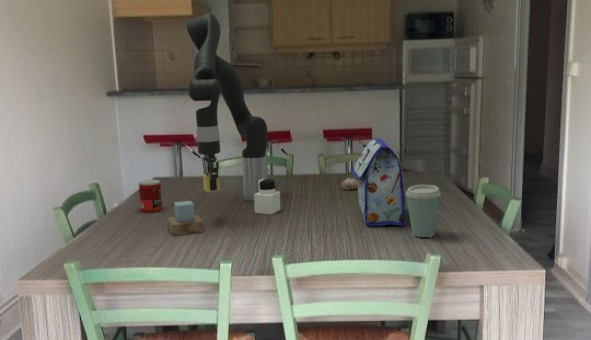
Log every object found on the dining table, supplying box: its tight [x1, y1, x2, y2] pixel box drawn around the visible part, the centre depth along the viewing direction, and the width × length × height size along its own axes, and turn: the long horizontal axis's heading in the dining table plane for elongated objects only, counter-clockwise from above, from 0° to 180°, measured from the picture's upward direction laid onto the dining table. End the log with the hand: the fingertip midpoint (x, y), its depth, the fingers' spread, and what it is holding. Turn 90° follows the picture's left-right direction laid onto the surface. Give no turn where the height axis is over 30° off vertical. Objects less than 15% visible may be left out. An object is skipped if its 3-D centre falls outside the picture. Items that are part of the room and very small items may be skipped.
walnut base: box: [166, 214, 205, 237], centre depth 185 cm, size 10×10×4 cm
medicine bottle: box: [253, 178, 281, 216], centre depth 206 cm, size 7×7×12 cm
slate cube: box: [173, 200, 196, 223], centre depth 185 cm, size 6×6×6 cm
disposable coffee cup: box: [405, 184, 442, 238], centre depth 172 cm, size 11×11×15 cm
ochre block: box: [202, 173, 221, 193], centre depth 193 cm, size 4×4×5 cm
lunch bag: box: [352, 137, 407, 227], centre depth 192 cm, size 23×17×27 cm
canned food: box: [138, 179, 163, 213], centre depth 213 cm, size 8×8×11 cm
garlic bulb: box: [340, 170, 358, 191], centre depth 241 cm, size 8×7×8 cm
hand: (211, 188), depth 193 cm, fingers closed on ochre block, 4 cm apart
